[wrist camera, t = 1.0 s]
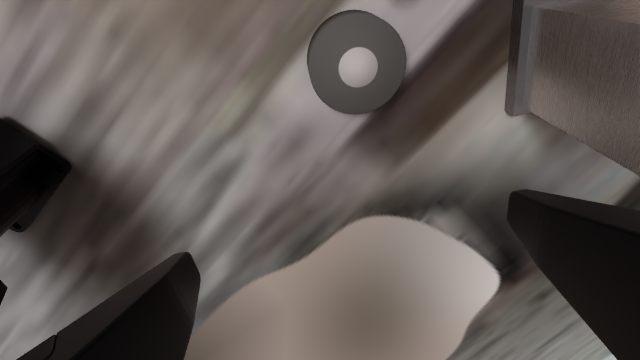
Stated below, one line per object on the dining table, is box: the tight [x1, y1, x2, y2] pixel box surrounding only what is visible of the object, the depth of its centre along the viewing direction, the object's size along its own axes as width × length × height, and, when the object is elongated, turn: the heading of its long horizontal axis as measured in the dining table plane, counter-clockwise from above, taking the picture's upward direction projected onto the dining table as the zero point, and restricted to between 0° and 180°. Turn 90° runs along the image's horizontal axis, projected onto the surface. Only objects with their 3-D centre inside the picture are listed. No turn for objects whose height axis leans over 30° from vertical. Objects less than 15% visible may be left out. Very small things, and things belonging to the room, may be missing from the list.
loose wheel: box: [307, 10, 406, 114], centre depth 20 cm, size 5×5×2 cm
